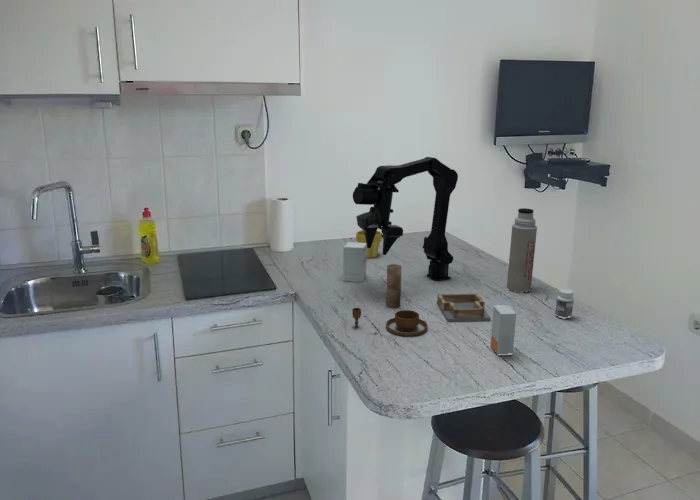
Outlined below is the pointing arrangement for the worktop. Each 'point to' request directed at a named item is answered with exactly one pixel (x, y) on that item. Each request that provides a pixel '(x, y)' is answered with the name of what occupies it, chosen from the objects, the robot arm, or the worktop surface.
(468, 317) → the keyhole plate
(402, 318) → the place setting
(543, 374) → the worktop surface
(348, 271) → the supplement box
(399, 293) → the walnut peg
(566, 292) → the pill bottle
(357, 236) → the plant pot
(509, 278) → the thermos bottle
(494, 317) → the skincare box
